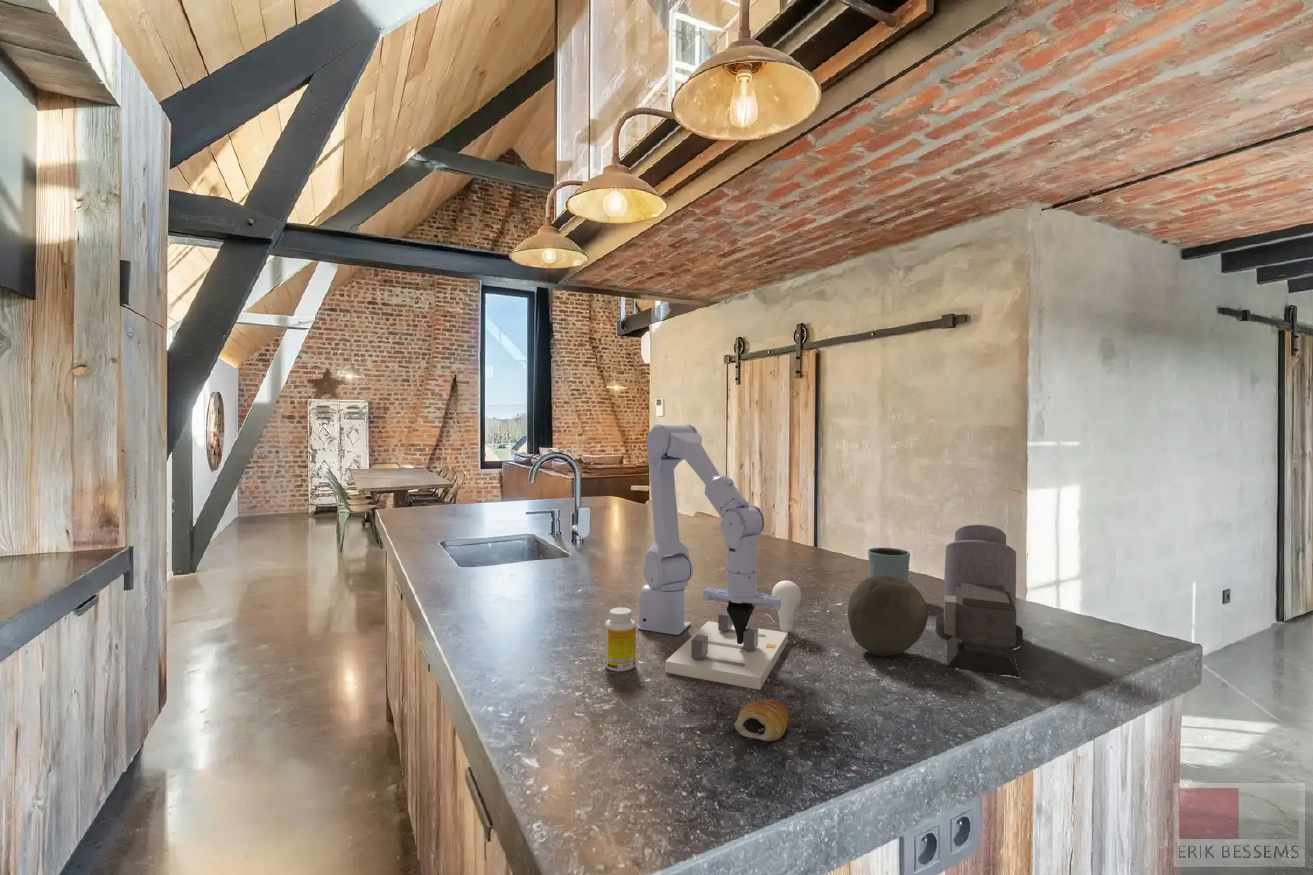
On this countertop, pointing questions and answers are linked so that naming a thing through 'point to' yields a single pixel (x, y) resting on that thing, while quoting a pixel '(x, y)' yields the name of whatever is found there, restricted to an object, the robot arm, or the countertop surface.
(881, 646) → the cantaloupe
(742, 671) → the breaker panel
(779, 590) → the lightbulb
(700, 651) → the block
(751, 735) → the pastry
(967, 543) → the juicer
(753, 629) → the block
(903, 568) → the drinking glass
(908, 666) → the countertop surface
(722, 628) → the block
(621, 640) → the supplement bottle
